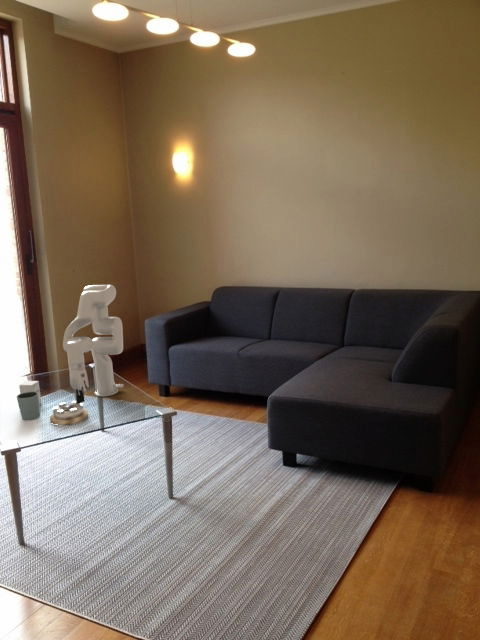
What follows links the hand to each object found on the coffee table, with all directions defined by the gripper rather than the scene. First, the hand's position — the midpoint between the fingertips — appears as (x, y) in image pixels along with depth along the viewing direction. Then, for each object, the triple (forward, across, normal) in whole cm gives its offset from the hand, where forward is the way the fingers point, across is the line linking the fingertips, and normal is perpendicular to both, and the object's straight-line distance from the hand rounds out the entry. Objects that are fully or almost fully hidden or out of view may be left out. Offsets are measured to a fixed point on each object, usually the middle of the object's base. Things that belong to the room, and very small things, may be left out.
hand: (80, 402), depth 284 cm
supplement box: (+8, +39, +7) cm, 40 cm away
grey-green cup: (+8, +23, +16) cm, 29 cm away
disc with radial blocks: (+6, +4, +5) cm, 9 cm away
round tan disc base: (+8, +4, +5) cm, 10 cm away
